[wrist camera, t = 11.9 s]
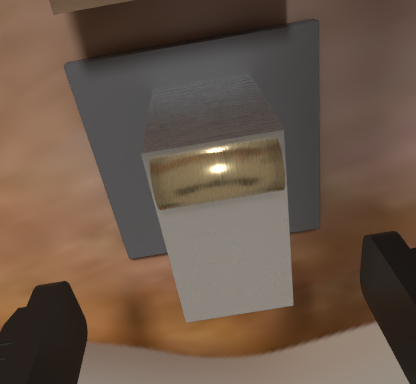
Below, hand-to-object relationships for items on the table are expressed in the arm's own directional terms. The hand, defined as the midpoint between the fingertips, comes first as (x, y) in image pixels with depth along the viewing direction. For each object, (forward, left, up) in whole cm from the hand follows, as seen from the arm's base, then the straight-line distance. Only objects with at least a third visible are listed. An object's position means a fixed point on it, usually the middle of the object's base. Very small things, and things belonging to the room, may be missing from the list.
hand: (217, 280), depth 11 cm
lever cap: (0, +1, -8) cm, 8 cm away
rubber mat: (0, 0, -9) cm, 9 cm away
